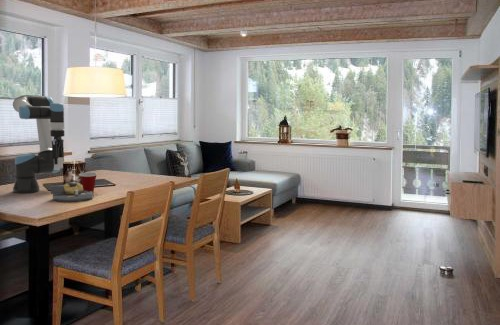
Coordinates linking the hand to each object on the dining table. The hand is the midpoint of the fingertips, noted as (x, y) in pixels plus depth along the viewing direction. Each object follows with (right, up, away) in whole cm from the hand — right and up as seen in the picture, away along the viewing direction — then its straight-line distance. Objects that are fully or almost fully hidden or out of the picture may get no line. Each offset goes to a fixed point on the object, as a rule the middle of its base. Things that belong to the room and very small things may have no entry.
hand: (58, 169), depth 275 cm
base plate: (+9, -17, -1) cm, 19 cm away
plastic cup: (+11, -15, +19) cm, 27 cm away
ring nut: (+6, -14, -2) cm, 15 cm away
